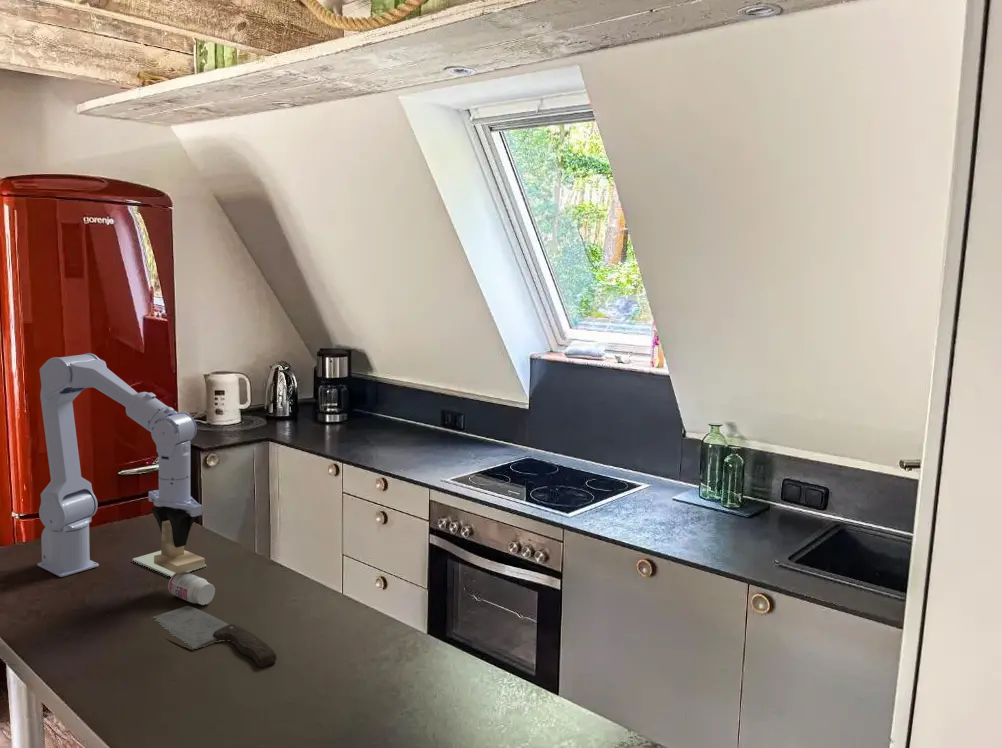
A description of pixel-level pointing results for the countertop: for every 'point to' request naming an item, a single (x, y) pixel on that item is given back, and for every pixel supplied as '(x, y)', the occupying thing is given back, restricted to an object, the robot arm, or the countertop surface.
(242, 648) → the cleaver
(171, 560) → the wooden post on base
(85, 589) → the countertop surface
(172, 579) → the pill bottle
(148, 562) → the board
